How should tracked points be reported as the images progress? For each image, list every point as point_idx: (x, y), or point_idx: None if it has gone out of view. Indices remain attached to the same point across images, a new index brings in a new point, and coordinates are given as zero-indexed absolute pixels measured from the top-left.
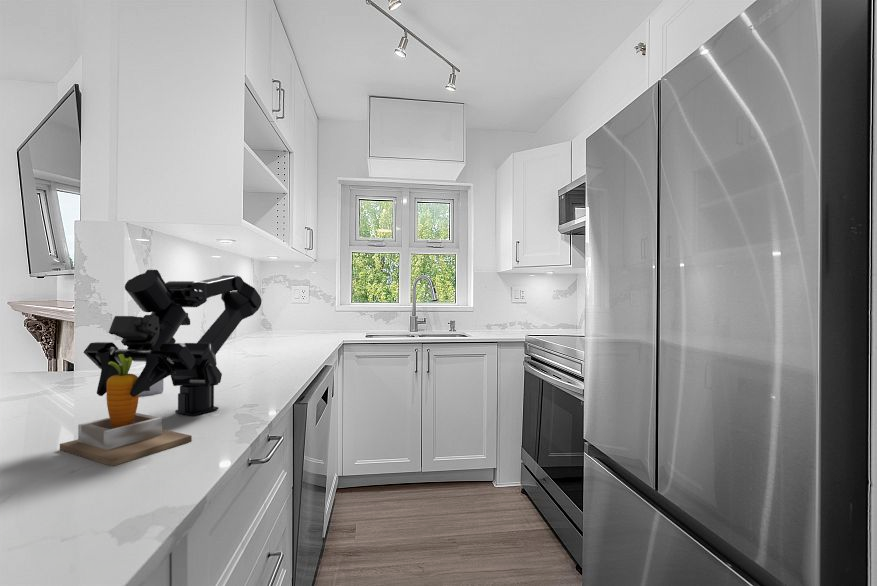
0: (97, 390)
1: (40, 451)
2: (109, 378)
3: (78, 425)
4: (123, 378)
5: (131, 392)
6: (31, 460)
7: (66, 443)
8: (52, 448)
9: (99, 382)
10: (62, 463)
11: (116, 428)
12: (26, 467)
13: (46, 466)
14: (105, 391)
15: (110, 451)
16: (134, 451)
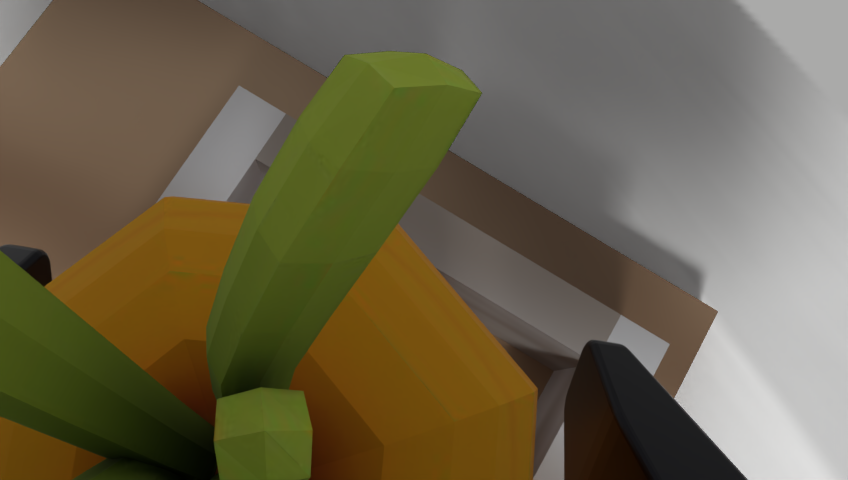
0: (635, 364)
1: (808, 296)
2: (466, 337)
3: (666, 345)
4: (107, 263)
5: (12, 251)
6: (716, 124)
7: (676, 320)
8: (778, 355)
9: (713, 451)
10: (473, 51)
11: (216, 184)
12: (643, 9)
13: (534, 12)
14: (572, 477)
15: (209, 102)
16: (26, 87)
